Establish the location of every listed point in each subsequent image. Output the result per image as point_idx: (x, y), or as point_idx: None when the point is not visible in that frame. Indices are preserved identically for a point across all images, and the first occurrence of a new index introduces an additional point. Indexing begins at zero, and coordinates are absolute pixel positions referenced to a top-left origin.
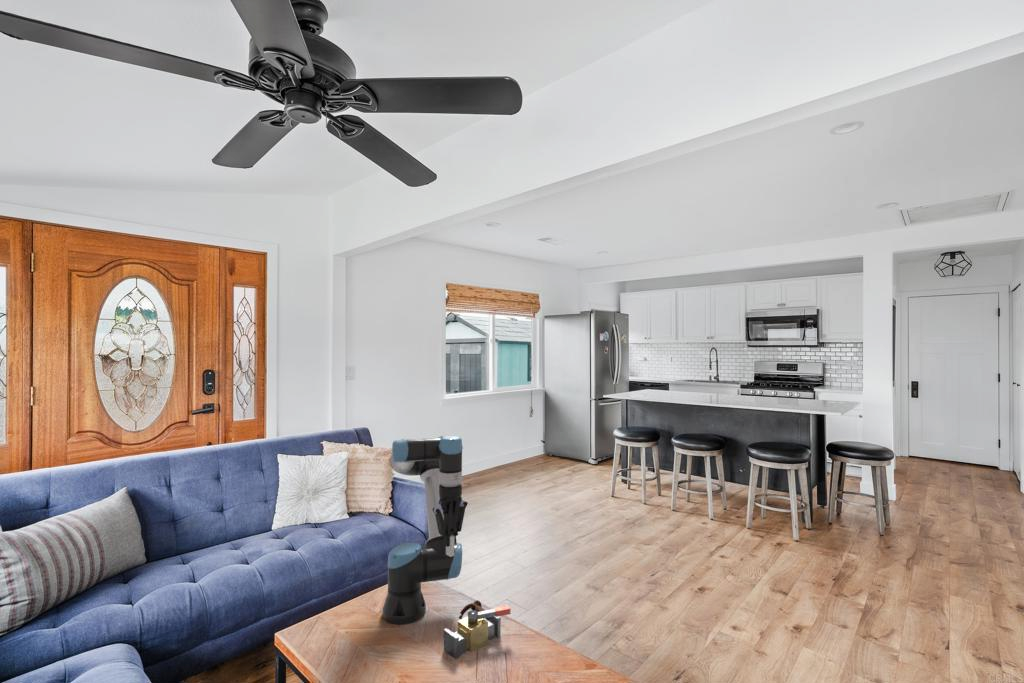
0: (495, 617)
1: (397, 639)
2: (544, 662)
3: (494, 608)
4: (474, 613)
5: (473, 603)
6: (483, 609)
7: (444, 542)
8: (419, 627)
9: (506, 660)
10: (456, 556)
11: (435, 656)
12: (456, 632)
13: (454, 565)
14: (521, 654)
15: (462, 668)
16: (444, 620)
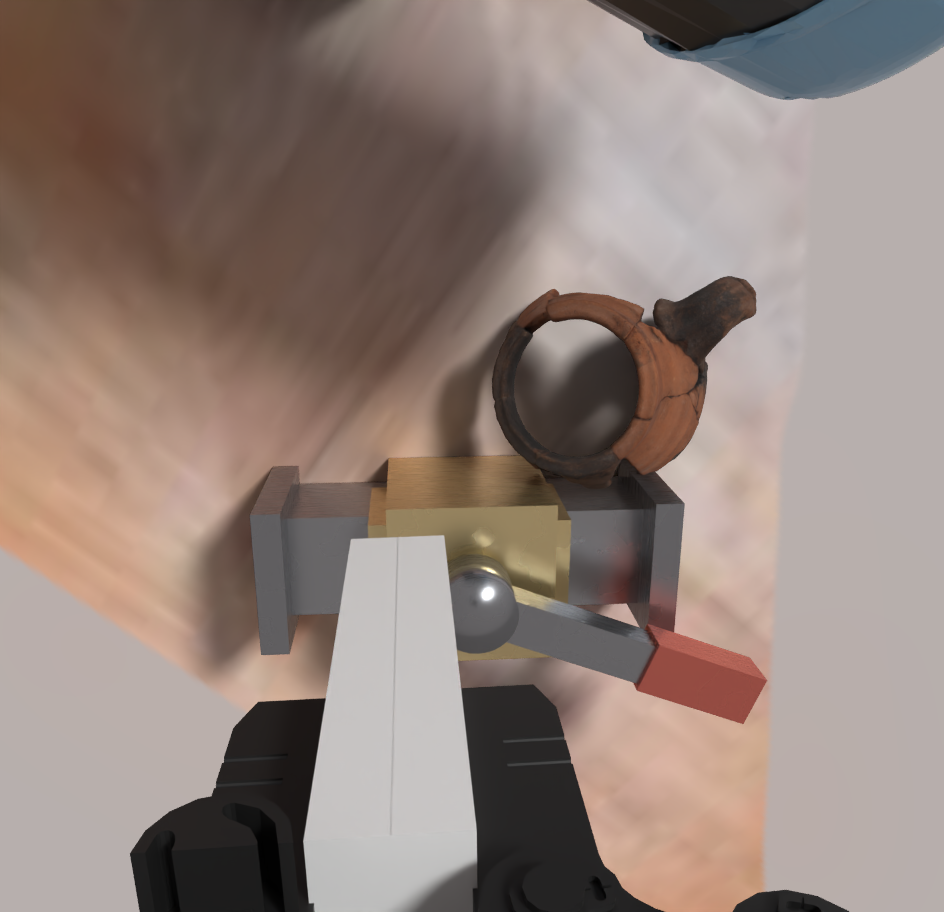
0: (648, 615)
1: (57, 131)
2: (636, 871)
3: (658, 653)
4: (482, 630)
5: (652, 375)
6: (689, 427)
7: (225, 769)
8: (275, 100)
9: None
10: (864, 19)
11: (197, 485)
12: (351, 526)
13: (753, 66)
14: (601, 764)
15: (270, 670)
16: (482, 152)
